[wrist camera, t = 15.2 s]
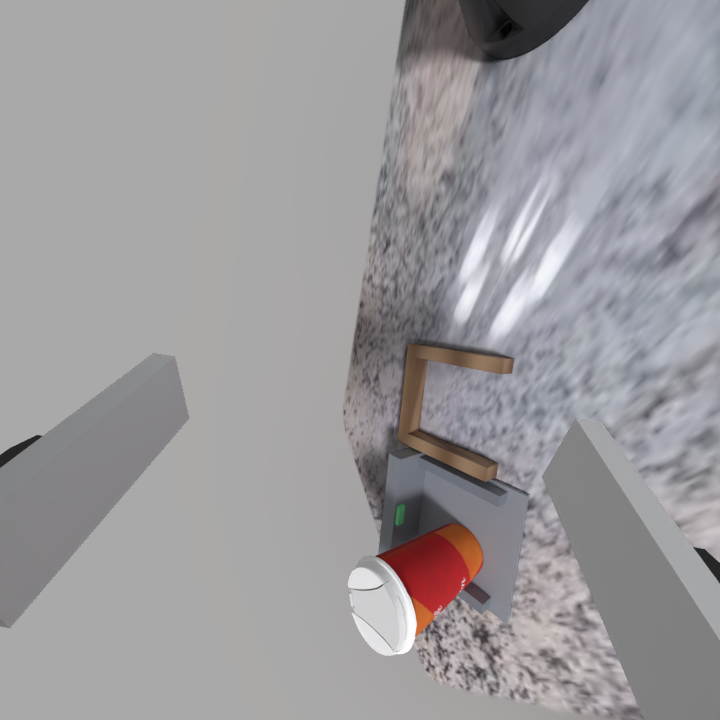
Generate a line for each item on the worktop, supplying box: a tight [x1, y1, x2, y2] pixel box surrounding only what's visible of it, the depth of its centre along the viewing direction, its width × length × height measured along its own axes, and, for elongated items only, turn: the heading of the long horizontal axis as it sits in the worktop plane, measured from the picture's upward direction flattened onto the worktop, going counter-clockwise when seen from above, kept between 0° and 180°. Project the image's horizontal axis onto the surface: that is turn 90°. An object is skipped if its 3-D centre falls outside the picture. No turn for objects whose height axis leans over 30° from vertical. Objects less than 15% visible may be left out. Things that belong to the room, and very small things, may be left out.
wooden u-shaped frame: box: [398, 344, 514, 482], centre depth 41 cm, size 13×14×2 cm
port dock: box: [378, 447, 530, 623], centre depth 40 cm, size 15×15×6 cm
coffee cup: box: [348, 523, 483, 656], centre depth 36 cm, size 8×8×15 cm
